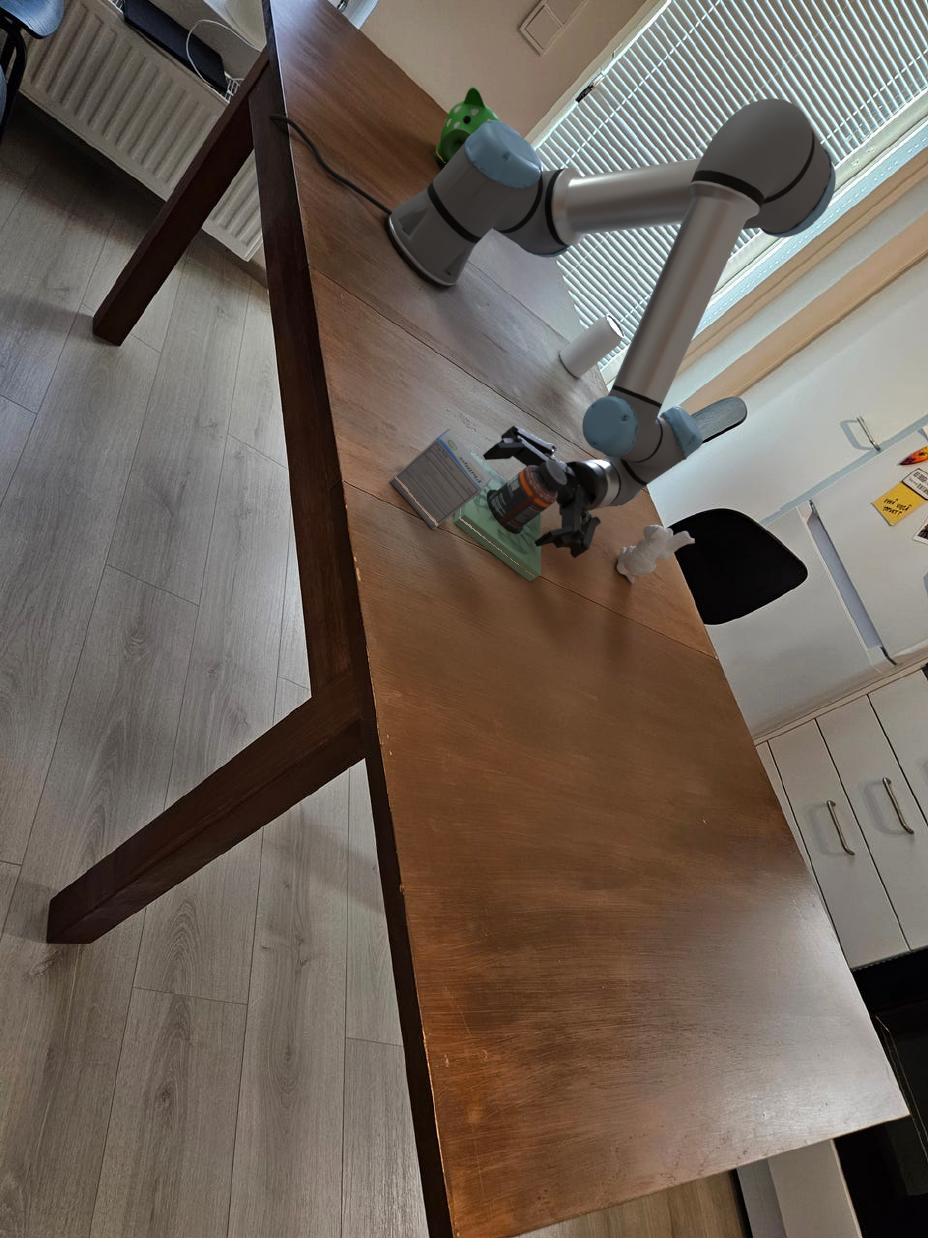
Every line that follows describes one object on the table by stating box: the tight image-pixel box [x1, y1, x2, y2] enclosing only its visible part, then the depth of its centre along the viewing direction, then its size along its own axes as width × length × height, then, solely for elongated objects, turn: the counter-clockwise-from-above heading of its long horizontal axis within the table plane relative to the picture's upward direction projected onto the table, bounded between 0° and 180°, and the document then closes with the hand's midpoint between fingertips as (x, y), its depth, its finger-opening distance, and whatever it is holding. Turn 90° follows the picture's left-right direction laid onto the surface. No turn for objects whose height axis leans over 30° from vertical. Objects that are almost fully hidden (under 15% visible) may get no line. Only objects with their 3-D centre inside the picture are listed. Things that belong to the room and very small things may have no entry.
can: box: [559, 313, 626, 378], centre depth 159 cm, size 6×6×12 cm
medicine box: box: [390, 428, 491, 531], centre depth 95 cm, size 8×4×9 cm, turn 65°
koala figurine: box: [616, 524, 696, 584], centre depth 128 cm, size 8×7×12 cm
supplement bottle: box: [487, 459, 567, 533], centre depth 105 cm, size 6×6×11 cm
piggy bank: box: [433, 86, 502, 165], centre depth 166 cm, size 14×18×15 cm
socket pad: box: [453, 450, 542, 583], centre depth 108 cm, size 14×14×2 cm
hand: (516, 494), depth 102 cm, fingers open, 13 cm apart
